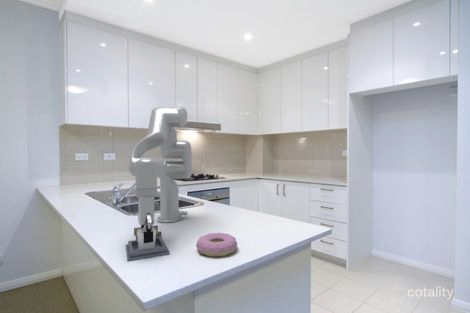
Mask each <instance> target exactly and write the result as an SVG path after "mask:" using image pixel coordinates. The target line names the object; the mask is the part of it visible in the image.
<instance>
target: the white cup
mask: <svg viewBox="0 0 470 313" xmlns="http://www.w3.org/2000/svg"><path fill="white" fill-rule="evenodd" d="M144 232H145V231H144V228H140V229H138V230H137V238H138V247H139V250H143V249H150V248H155V238H156V228H154V227H153V242H151V243H144Z"/></svg>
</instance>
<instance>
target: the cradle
mask: <svg viewBox="0 0 470 313" xmlns="http://www.w3.org/2000/svg"><path fill="white" fill-rule="evenodd" d="M125 252H126V259H127V262H133V261H138V260H145V259H149V258H150V259H151V258H155V257H156V256H158V257H163V255H164V256H168V255H171V254H170V250H169V248H168V246H167V244H166V242H165V240H164V238H162V236H161V237H156V238H155V248H150V249H143V250H139V247H138V240H136V239H134V240H133V239H132V240H128V241H127V243H126V244H125ZM156 258H157V257H156Z"/></svg>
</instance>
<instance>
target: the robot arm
mask: <svg viewBox="0 0 470 313" xmlns="http://www.w3.org/2000/svg"><path fill="white" fill-rule="evenodd" d="M187 121H188V111H187V110H186V108H185V107H174V106H173V107H171V106H167V107H166V106H159V107H154V108H152V110H151V114H150V118H149V123H148V129H147V134H146V136H145V137H143V138H141V139H140V140H139V141H138V142H137V143H136V145H135V146H134V147H133V148H132V151H131V154H130V158H129V163H128V172H129V173H130V175H131V176H133V177H135V197H136V198H137V199H138V202H137V203H138V206H137V208H138V209H137V211H138V212H137V222H138V224H139V226H140V227H141V228H144V231H145V232H144V243H151V242H153V226H154V224H155V197H156V198H157V197H158V177H159V186H160V187H159V188H160V189H159V191H160V192H159V195H160V196H159V200H160V201H159V202H160V203H159V205H160V206H159V207H160V208H159V209H160V210H159V211H160V212H159V216H158V217H157V219H156V220H157V222H159V223H165V224H166V223H177V222H180V221H181V220H182V216H188V211H181V210H180V208H179V204H180V203H179V201H180V200H179V194H180V193H179V192H180V191H179V185H178V183H177V182H176V181H175V180H176V179H177V180H178V179H179V180H180V179H183V180H184V179H185V180H186V179H189V178H191V177H192V174H193V163H192V162H193V158H192V157H193V156H192V146H191V143H190V142H189V141H188V140H178V138H177V136H178V135H177V129H176V128H182V127H184V126H185V125H186V123H187ZM158 147H159V148H160V155H161V157H162V158H161V157H142V156H143V155H144V154H145V153H146V152H148V151H150V150H153V149H156V148H158ZM164 158H165V159H176V160H165V159H164ZM178 159H181V160H178Z"/></svg>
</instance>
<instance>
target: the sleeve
mask: <svg viewBox="0 0 470 313" xmlns="http://www.w3.org/2000/svg"><path fill="white" fill-rule="evenodd" d="M153 227H154V228H156V237H162V231H161V230H160V231H159V225H158V224H157V225H153ZM140 228H141V226H140V227H134V228H133V234H134V235H133V236H135V240H138V238H137V230H138V229H140Z"/></svg>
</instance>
